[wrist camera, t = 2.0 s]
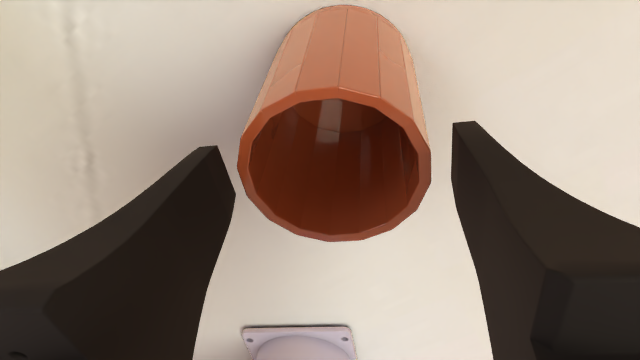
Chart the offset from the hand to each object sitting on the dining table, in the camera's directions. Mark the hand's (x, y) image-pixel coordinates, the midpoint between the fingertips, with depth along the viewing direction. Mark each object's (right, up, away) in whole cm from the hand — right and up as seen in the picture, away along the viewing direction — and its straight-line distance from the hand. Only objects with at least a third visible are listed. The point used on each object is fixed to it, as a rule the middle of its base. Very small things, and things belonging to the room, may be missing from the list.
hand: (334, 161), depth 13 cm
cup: (+1, +4, +5) cm, 6 cm away
